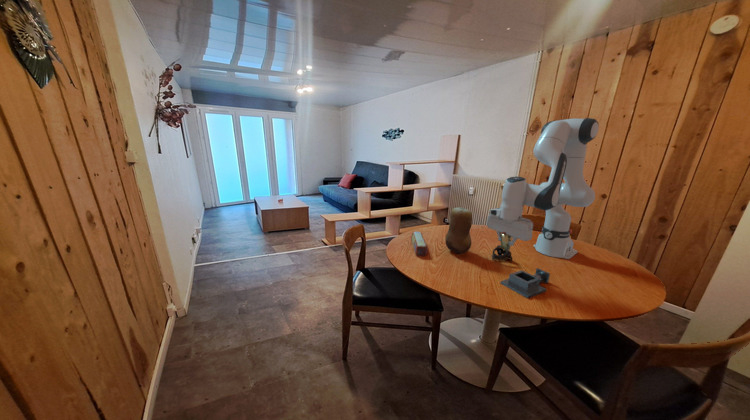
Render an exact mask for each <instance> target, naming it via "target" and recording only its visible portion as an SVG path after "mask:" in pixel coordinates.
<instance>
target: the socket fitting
mask: <svg viewBox="0 0 750 420" xmlns="http://www.w3.org/2000/svg"><path fill="white" fill-rule="evenodd" d="M550 275H551V273H549V272H547V271H545V270H543V269H541V268H536V270H535V273H534V274H530V273H528V272H527V271H526V270H525V271H524V270H518V271H515V272H512V273H510V274H509V277H508V278H506V279H502V280H501V281H500V284H501V285H503V286H504V287H506V288H509V289H510V290H512V291H513V292H516V293H517V294H519V295H521V296H522V297H524V298H526V299H531V298H533V297H536V296H538V295H540V294H543V293H546V292H547V288H545V287H544V286H542V285H540V284H541V283H542V282H543V283H544V284H549V280H550Z"/></svg>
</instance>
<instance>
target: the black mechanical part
mask: <svg viewBox="0 0 750 420" xmlns="http://www.w3.org/2000/svg"><path fill="white" fill-rule="evenodd" d="M500 245H501V244H498V245H497V246H495V248H493V249H492V254H491V259H492V260H497V261H505V260H506V261H508V259H509V260H510V261H511V263H512V262H513V256H512V252H511V251H510V250H503V249H501V248H500ZM495 252H497V254H496V253H495Z"/></svg>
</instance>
